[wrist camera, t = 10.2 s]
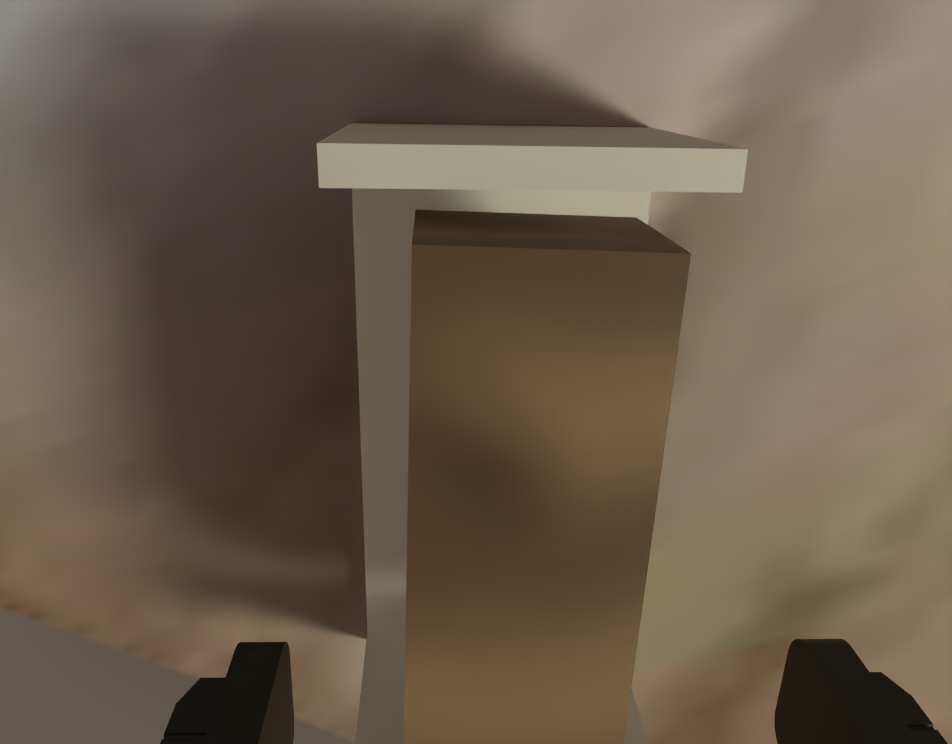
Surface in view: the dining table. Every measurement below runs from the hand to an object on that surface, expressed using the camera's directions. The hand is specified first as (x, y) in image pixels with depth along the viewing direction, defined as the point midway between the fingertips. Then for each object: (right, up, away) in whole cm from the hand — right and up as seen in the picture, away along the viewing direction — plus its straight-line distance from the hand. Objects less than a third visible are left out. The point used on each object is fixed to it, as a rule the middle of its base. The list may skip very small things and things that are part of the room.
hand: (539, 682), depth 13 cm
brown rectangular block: (0, +2, +7) cm, 8 cm away
